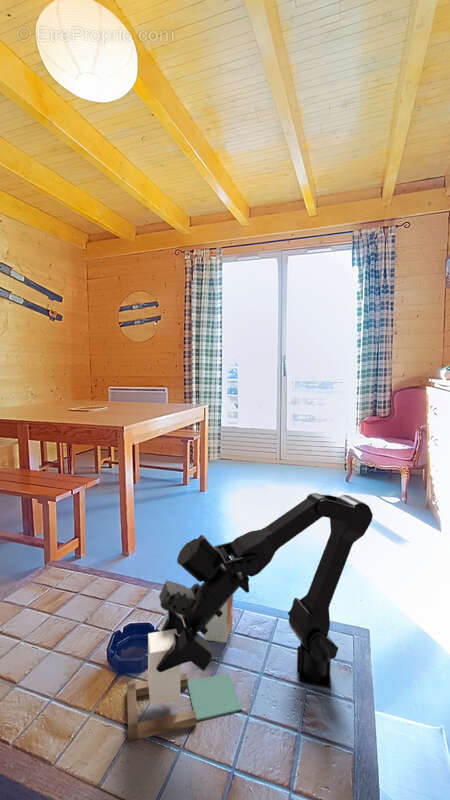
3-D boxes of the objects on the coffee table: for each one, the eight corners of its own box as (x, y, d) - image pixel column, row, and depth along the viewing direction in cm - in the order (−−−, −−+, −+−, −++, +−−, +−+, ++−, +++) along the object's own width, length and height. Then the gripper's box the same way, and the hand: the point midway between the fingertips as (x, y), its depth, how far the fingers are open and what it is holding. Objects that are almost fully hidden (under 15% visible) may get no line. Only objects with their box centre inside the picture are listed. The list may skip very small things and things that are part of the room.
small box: (226, 644, 88) (227, 601, 88) (204, 640, 90) (205, 598, 89) (232, 623, 96) (233, 583, 96) (212, 620, 97) (212, 581, 97)
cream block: (176, 677, 74) (176, 628, 74) (180, 699, 69) (180, 647, 68) (148, 682, 73) (148, 633, 72) (150, 706, 67) (150, 653, 67)
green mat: (228, 674, 79) (228, 673, 79) (241, 710, 70) (241, 708, 70) (187, 683, 77) (187, 681, 77) (195, 721, 68) (195, 719, 68)
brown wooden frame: (186, 679, 77) (186, 673, 77) (196, 725, 67) (196, 717, 67) (127, 691, 74) (127, 684, 74) (128, 741, 64) (128, 733, 64)
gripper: (177, 548, 80) (124, 605, 77) (194, 596, 62) (126, 673, 59) (212, 579, 82) (162, 635, 80) (238, 633, 64) (174, 709, 62)
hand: (156, 658), depth 70 cm, fingers closed on cream block, 5 cm apart
